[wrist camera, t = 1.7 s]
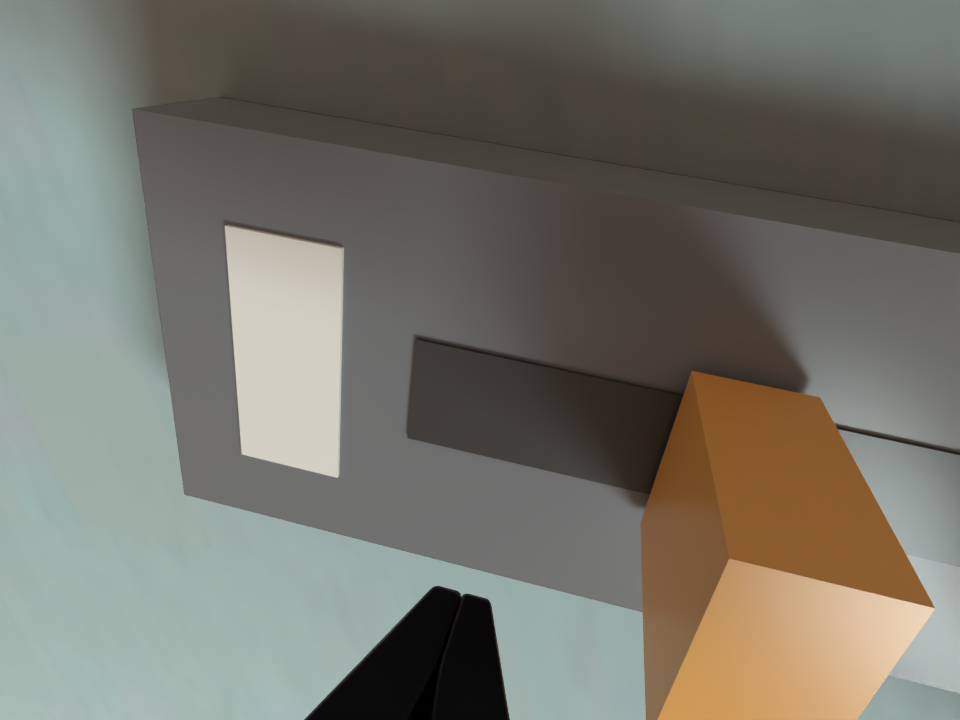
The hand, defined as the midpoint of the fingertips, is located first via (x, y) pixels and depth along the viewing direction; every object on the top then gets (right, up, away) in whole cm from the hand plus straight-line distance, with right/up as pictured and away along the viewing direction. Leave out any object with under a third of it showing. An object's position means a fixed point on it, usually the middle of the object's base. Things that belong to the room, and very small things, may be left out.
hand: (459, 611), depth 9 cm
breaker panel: (+5, +3, +7) cm, 9 cm away
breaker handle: (+5, +1, +4) cm, 7 cm away
